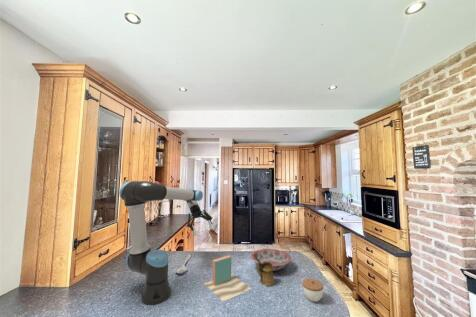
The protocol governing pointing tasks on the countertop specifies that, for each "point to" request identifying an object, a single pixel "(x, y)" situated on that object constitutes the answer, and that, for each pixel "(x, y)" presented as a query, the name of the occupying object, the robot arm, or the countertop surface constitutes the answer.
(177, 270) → the spoon
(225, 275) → the ceramic tile
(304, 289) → the lidded jar
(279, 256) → the ceramic bowl
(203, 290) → the countertop surface
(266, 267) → the wooden mug
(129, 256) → the robot arm
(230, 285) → the cream cloth
